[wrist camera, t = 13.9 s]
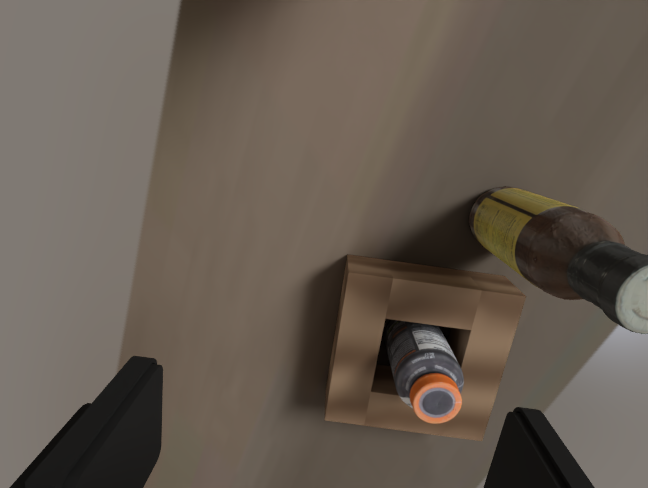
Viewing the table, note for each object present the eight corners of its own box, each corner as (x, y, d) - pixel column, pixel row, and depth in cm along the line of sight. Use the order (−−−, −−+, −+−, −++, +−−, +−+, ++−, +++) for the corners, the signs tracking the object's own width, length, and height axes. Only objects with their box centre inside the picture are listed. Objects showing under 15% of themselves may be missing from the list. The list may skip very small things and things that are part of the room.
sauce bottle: (488, 258, 41) (618, 380, 22) (454, 210, 40) (561, 294, 21) (546, 220, 40) (736, 314, 21) (512, 169, 39) (683, 219, 20)
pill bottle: (399, 367, 45) (420, 446, 34) (373, 325, 44) (386, 393, 33) (449, 343, 44) (487, 416, 33) (424, 299, 43) (455, 360, 32)
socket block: (347, 254, 42) (348, 272, 37) (504, 276, 42) (526, 296, 37) (325, 388, 46) (324, 420, 41) (467, 407, 46) (482, 441, 42)
